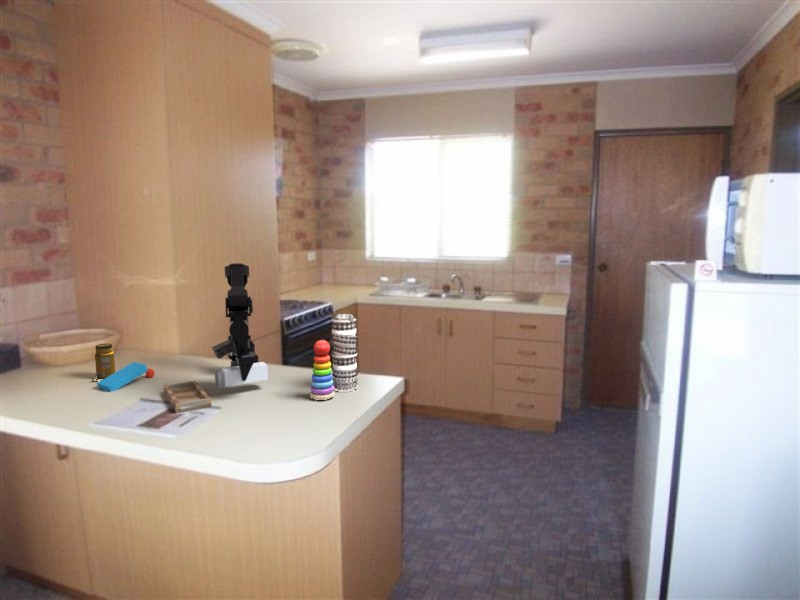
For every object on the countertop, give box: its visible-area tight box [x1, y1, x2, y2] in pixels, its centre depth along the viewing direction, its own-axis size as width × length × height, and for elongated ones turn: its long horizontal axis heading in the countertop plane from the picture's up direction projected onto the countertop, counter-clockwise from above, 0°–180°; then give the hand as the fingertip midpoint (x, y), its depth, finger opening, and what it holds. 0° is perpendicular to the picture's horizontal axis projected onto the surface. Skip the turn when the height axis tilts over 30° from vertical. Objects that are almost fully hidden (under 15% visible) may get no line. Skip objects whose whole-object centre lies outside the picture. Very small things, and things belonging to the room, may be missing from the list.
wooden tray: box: [163, 380, 212, 414], centre depth 172 cm, size 21×10×2 cm, turn 32°
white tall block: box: [214, 361, 269, 389], centre depth 179 cm, size 16×4×5 cm, turn 122°
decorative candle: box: [329, 313, 359, 390], centre depth 181 cm, size 9×9×25 cm
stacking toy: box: [309, 339, 336, 401], centre depth 173 cm, size 8×8×19 cm
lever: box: [96, 361, 156, 392], centre depth 189 cm, size 7×7×18 cm
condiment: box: [90, 343, 116, 383], centre depth 194 cm, size 7×8×12 cm
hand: (241, 378), depth 179 cm, fingers closed on white tall block, 4 cm apart
